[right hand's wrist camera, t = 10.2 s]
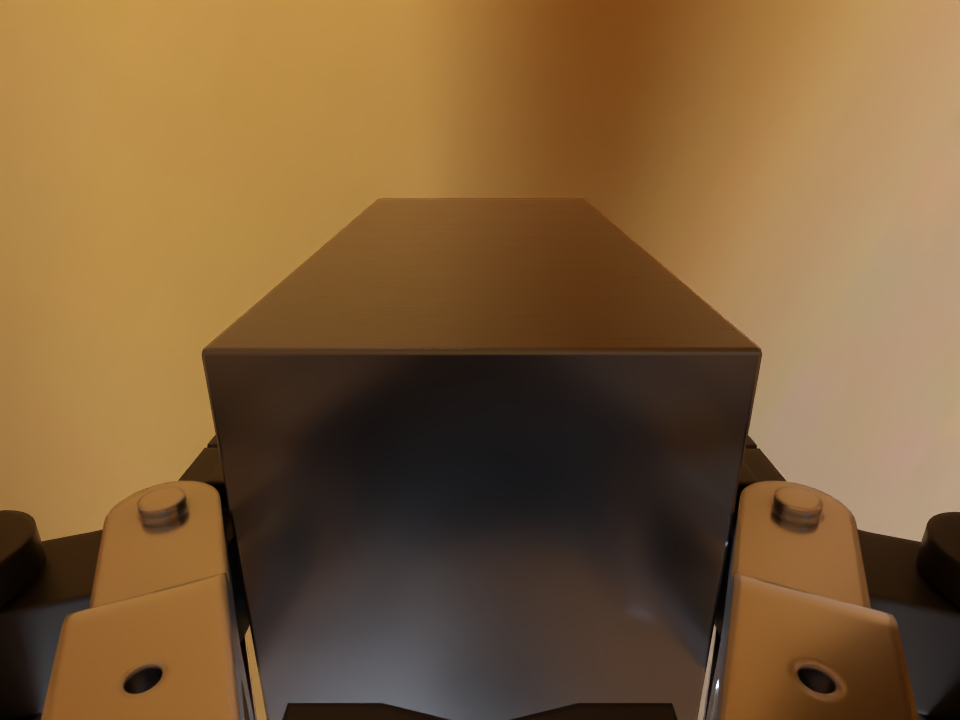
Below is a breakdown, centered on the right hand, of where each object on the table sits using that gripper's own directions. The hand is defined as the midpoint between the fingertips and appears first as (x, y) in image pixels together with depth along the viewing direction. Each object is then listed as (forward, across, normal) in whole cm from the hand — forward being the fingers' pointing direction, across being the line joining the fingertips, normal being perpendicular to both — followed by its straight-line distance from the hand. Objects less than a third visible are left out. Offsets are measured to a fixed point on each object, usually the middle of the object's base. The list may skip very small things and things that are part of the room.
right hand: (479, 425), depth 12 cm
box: (+7, 0, +9) cm, 12 cm away
